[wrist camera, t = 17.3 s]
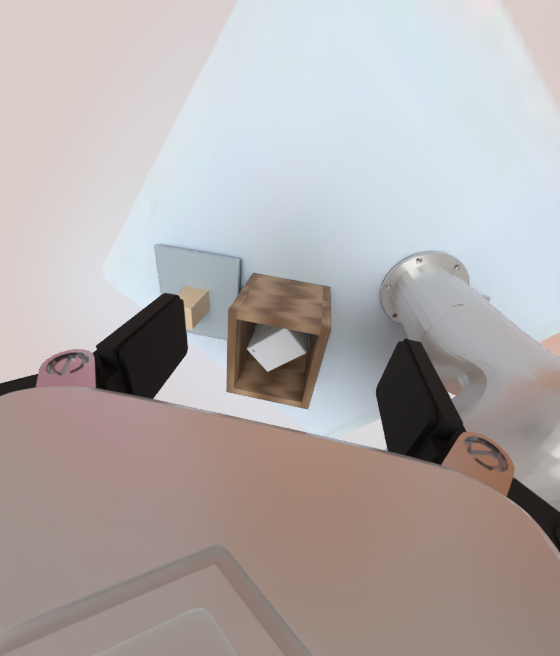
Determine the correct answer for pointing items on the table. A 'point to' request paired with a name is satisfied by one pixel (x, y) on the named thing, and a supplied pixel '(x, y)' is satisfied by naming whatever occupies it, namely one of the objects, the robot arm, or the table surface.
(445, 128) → the table surface
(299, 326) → the crate
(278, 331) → the small box
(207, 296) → the lid
